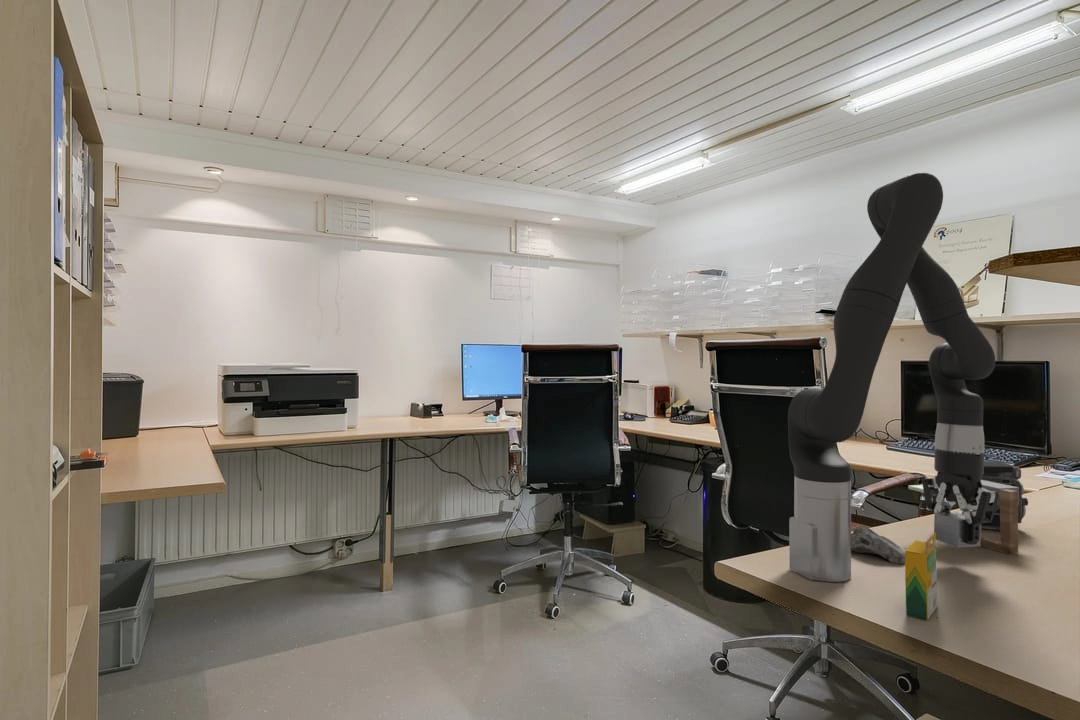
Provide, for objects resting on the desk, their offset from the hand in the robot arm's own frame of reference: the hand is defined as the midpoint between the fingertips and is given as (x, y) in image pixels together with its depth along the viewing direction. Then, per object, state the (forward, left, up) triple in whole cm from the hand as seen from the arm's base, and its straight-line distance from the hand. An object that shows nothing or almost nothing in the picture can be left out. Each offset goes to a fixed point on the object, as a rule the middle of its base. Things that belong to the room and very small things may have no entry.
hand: (956, 538), depth 108 cm
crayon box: (-23, -15, -5) cm, 28 cm away
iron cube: (0, 0, -1) cm, 1 cm away
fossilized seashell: (-10, +9, -6) cm, 15 cm away
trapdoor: (+15, +12, +4) cm, 20 cm away
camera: (+33, +20, -5) cm, 39 cm away
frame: (+18, +12, -5) cm, 22 cm away
